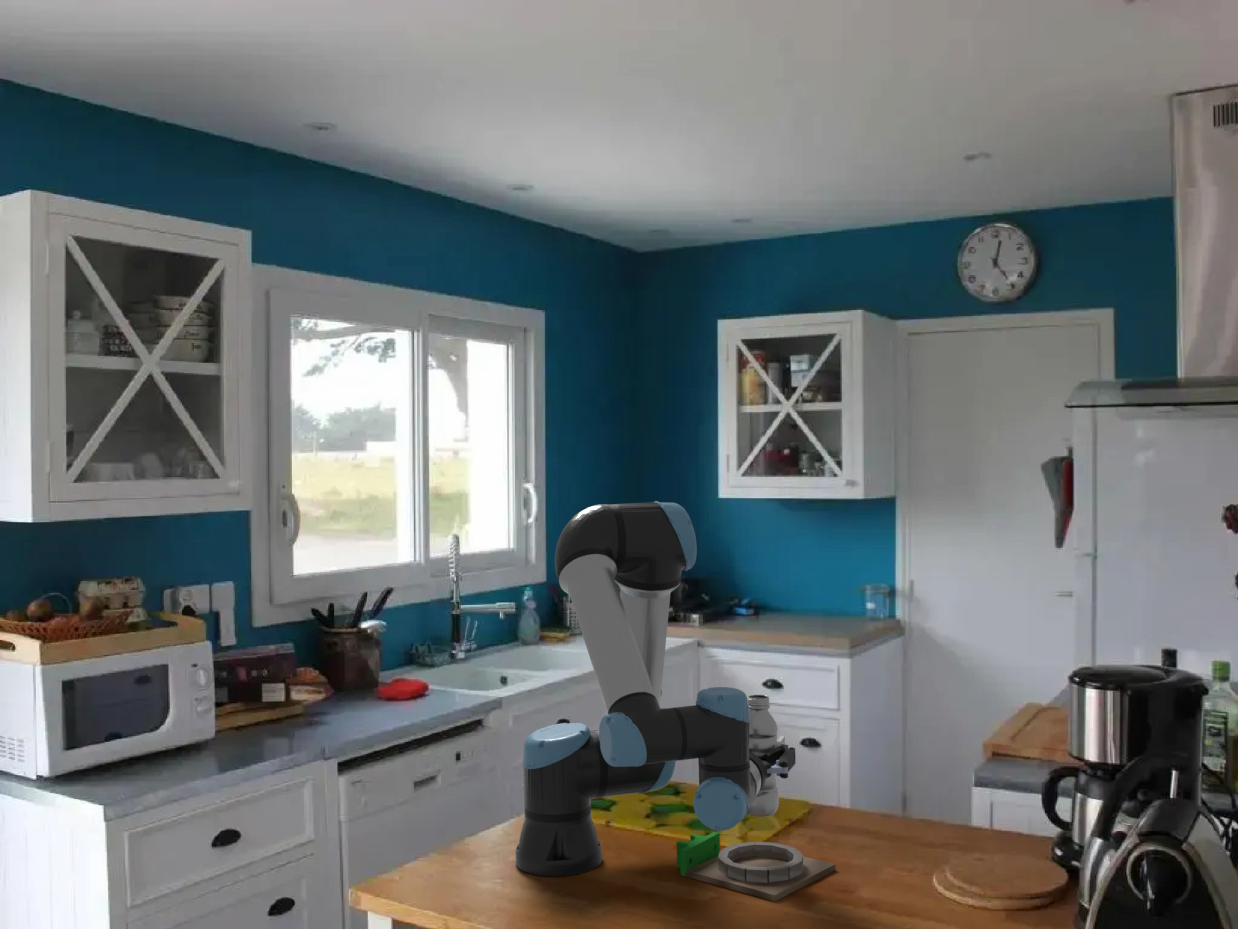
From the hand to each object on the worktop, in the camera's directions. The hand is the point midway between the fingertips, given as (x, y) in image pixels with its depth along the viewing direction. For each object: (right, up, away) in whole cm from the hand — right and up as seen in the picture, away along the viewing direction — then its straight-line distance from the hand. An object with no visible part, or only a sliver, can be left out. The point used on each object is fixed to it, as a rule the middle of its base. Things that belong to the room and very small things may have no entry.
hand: (763, 742), depth 208 cm
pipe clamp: (-12, -22, 0) cm, 25 cm away
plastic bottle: (-1, -11, -5) cm, 12 cm away
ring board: (-1, -21, -5) cm, 21 cm away
